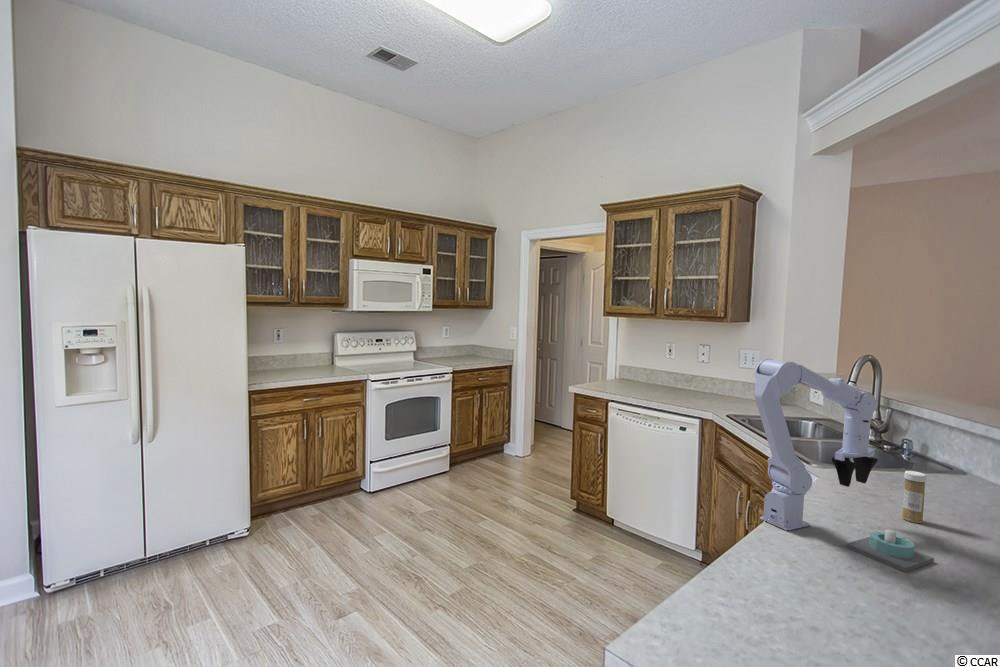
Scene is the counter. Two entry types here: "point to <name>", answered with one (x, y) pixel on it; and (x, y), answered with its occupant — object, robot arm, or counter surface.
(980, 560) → the counter surface
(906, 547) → the ring
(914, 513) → the sprinkles bottle
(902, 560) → the pin board
